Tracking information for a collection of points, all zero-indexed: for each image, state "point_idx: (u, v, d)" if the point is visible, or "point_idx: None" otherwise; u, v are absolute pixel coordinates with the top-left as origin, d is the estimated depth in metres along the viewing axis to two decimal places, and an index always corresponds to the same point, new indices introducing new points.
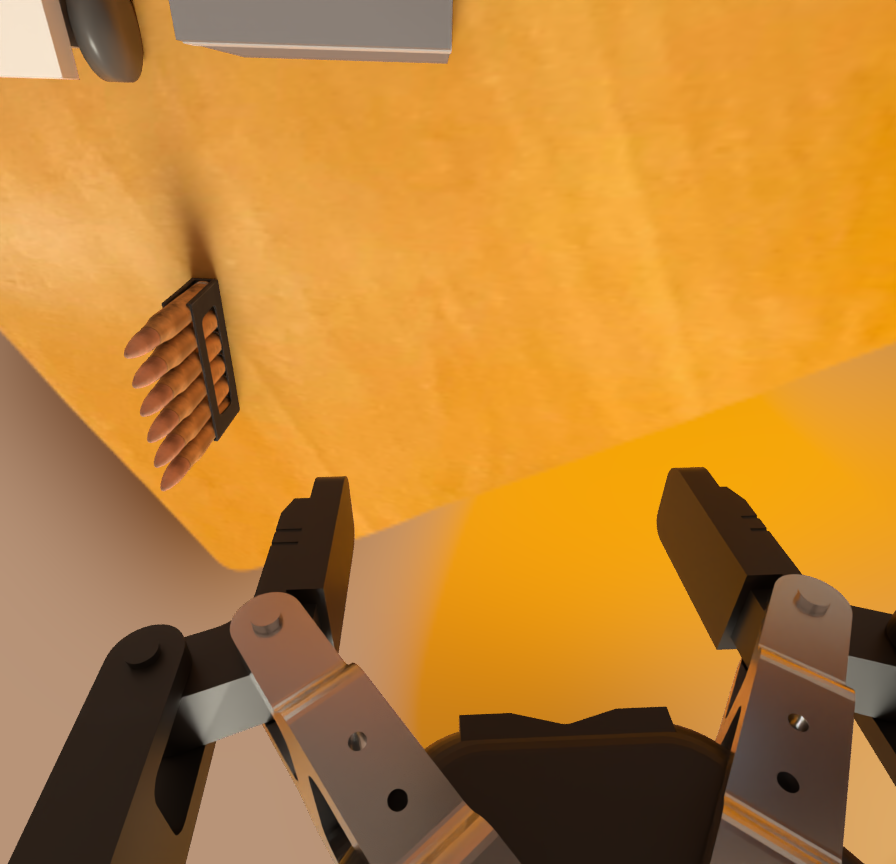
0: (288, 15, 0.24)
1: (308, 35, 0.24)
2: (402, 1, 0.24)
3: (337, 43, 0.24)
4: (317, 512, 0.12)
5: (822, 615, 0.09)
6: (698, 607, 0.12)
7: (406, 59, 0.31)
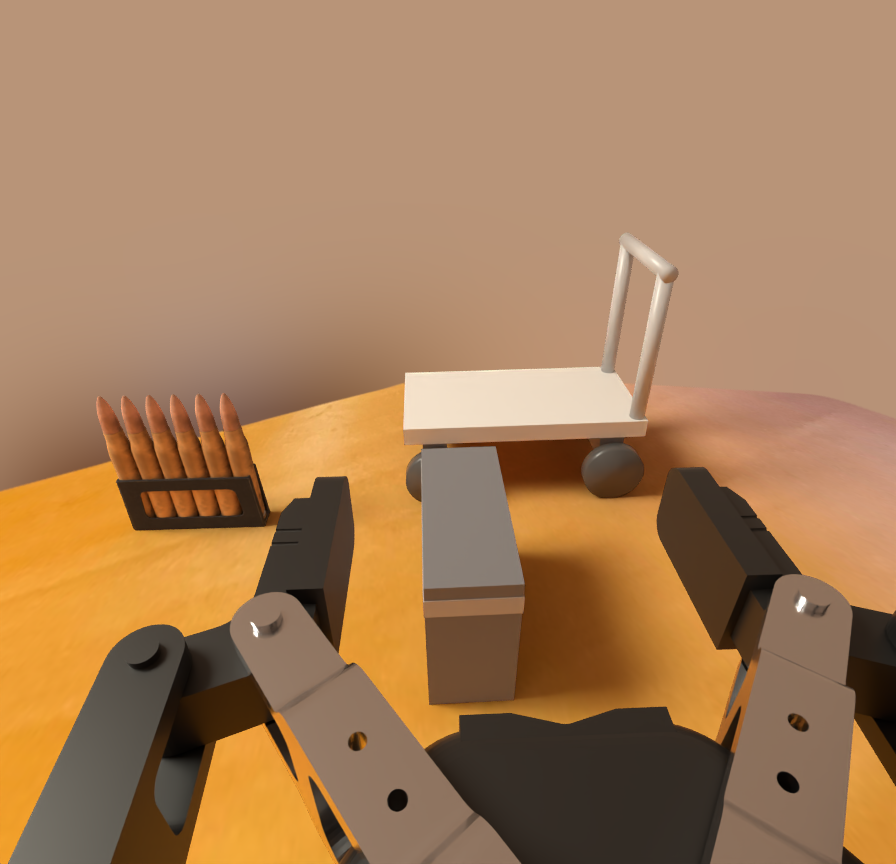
0: (438, 496, 0.33)
1: (427, 505, 0.32)
2: (453, 555, 0.29)
3: (423, 519, 0.31)
4: (317, 512, 0.12)
5: (822, 615, 0.09)
6: (698, 607, 0.12)
7: None
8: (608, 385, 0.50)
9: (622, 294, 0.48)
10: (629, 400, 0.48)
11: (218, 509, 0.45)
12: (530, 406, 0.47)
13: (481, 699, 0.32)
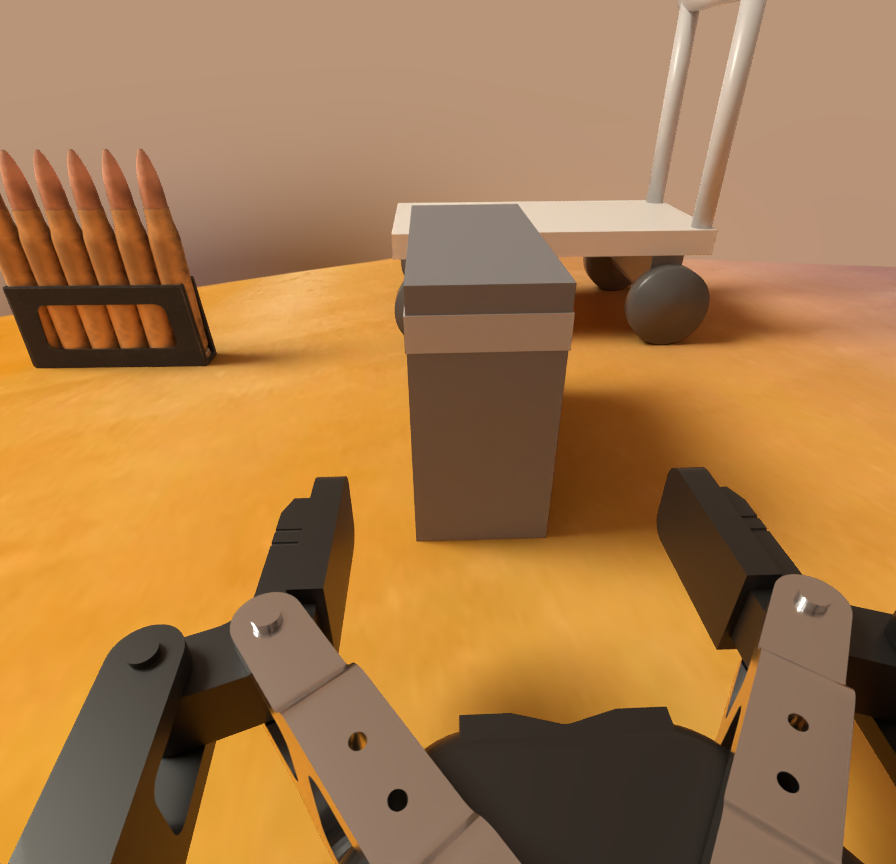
0: (434, 229, 0.22)
1: (416, 234, 0.21)
2: (455, 263, 0.18)
3: (409, 242, 0.20)
4: (317, 512, 0.12)
5: (822, 615, 0.09)
6: (697, 607, 0.12)
7: None
8: (657, 209, 0.39)
9: (680, 81, 0.37)
10: (688, 218, 0.37)
11: (145, 341, 0.34)
12: (559, 221, 0.36)
13: (496, 534, 0.21)
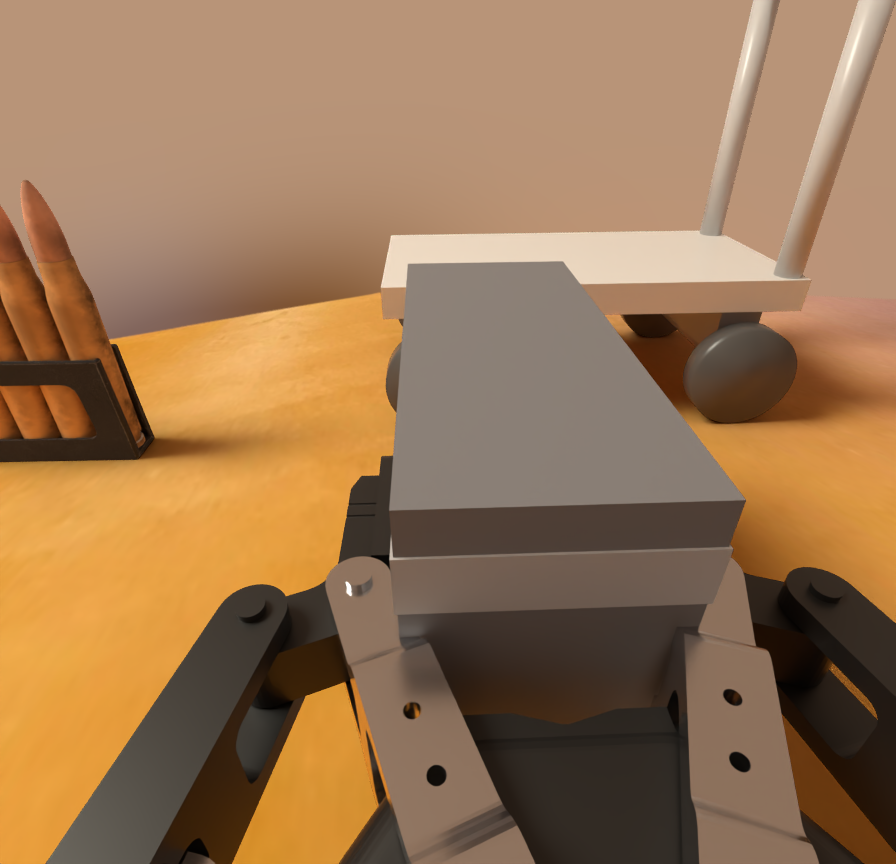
0: (443, 320, 0.14)
1: (415, 333, 0.13)
2: (489, 425, 0.09)
3: (403, 356, 0.12)
4: (388, 487, 0.13)
5: None
6: None
7: None
8: (718, 246, 0.31)
9: (752, 84, 0.29)
10: (764, 259, 0.29)
11: (57, 428, 0.26)
12: (599, 265, 0.28)
13: None
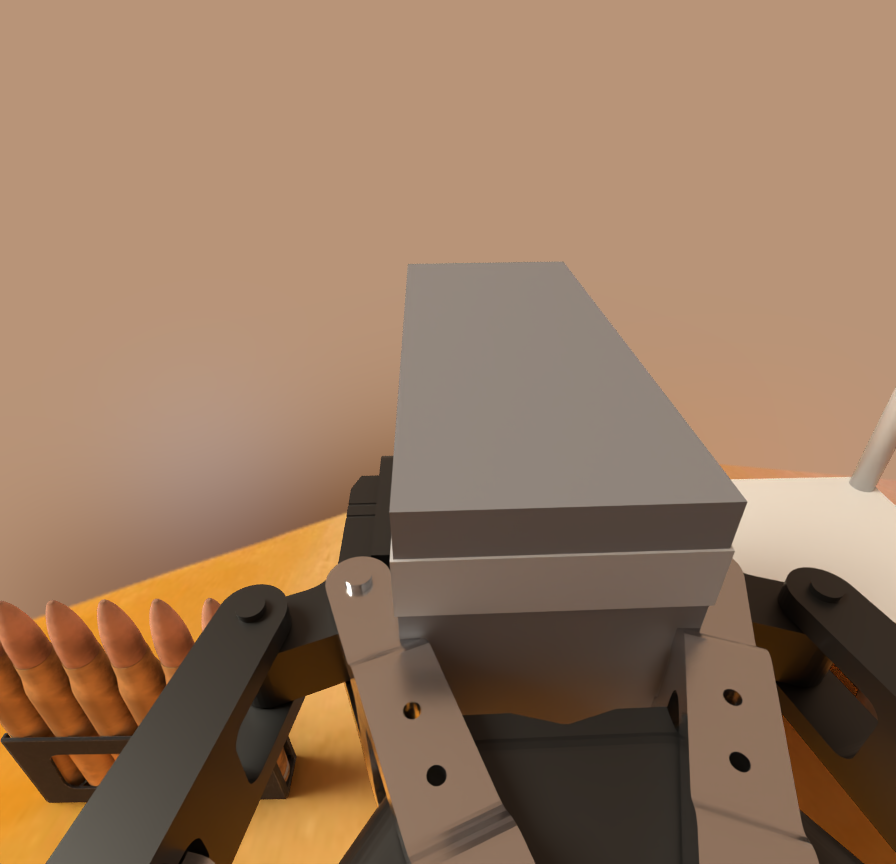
0: (444, 320, 0.14)
1: (415, 334, 0.13)
2: (489, 427, 0.09)
3: (403, 356, 0.12)
4: (388, 487, 0.13)
5: None
6: None
7: None
8: (882, 520, 0.29)
9: None
10: None
11: None
12: (772, 573, 0.26)
13: None
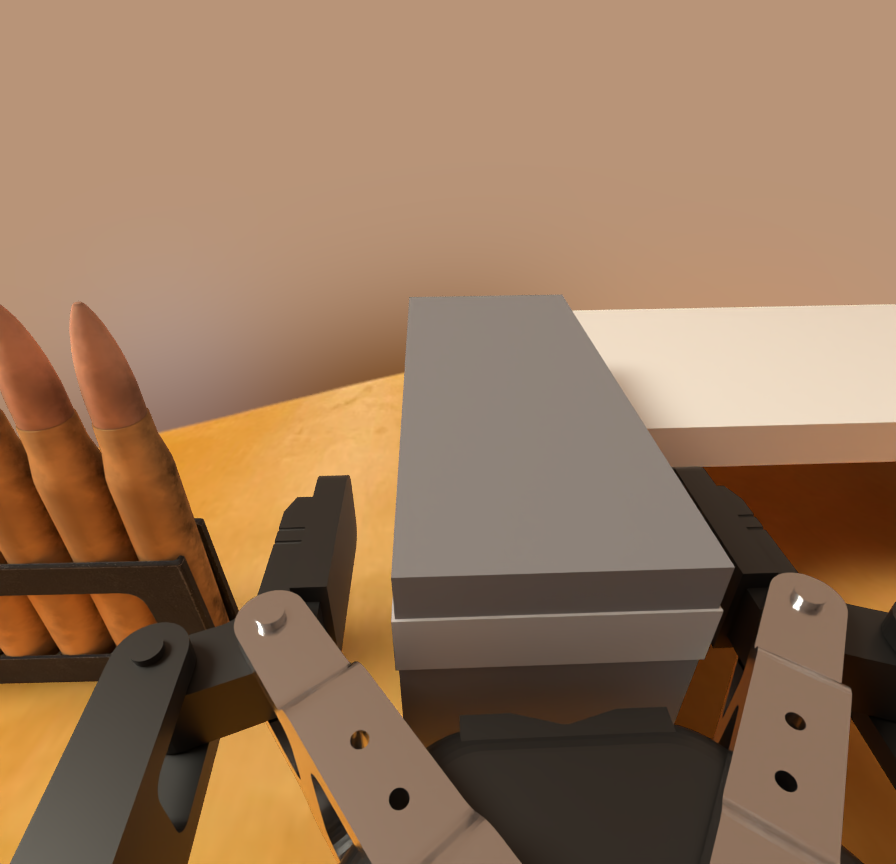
0: (444, 362, 0.14)
1: (417, 378, 0.13)
2: (488, 483, 0.10)
3: (404, 403, 0.12)
4: (320, 511, 0.12)
5: (817, 613, 0.09)
6: None
7: None
8: None
9: None
10: None
11: (109, 633, 0.17)
12: (886, 377, 0.19)
13: None
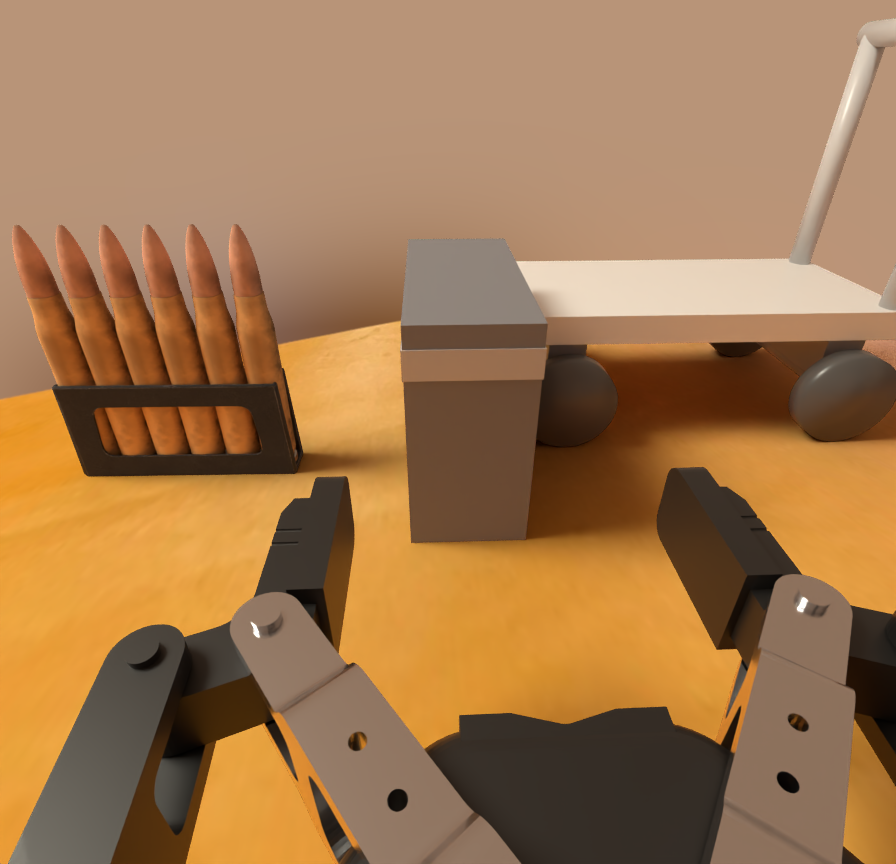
0: (428, 266, 0.25)
1: (412, 271, 0.24)
2: (445, 303, 0.20)
3: (406, 280, 0.23)
4: (317, 512, 0.12)
5: (822, 615, 0.09)
6: (697, 607, 0.12)
7: None
8: (813, 275, 0.33)
9: (851, 128, 0.31)
10: (862, 290, 0.31)
11: (222, 444, 0.28)
12: (714, 295, 0.30)
13: (481, 536, 0.24)
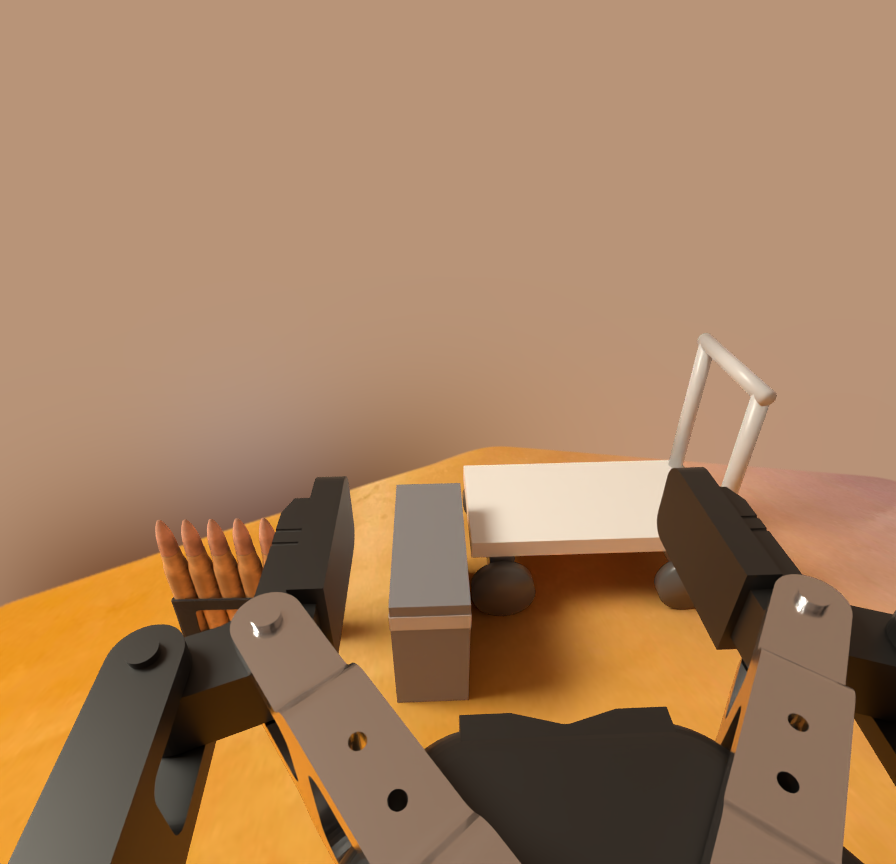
0: (407, 527, 0.39)
1: (397, 535, 0.39)
2: (415, 580, 0.35)
3: (393, 548, 0.38)
4: (317, 512, 0.12)
5: (822, 615, 0.09)
6: (697, 607, 0.12)
7: None
8: None
9: (698, 394, 0.46)
10: None
11: None
12: (602, 513, 0.45)
13: (441, 698, 0.39)
